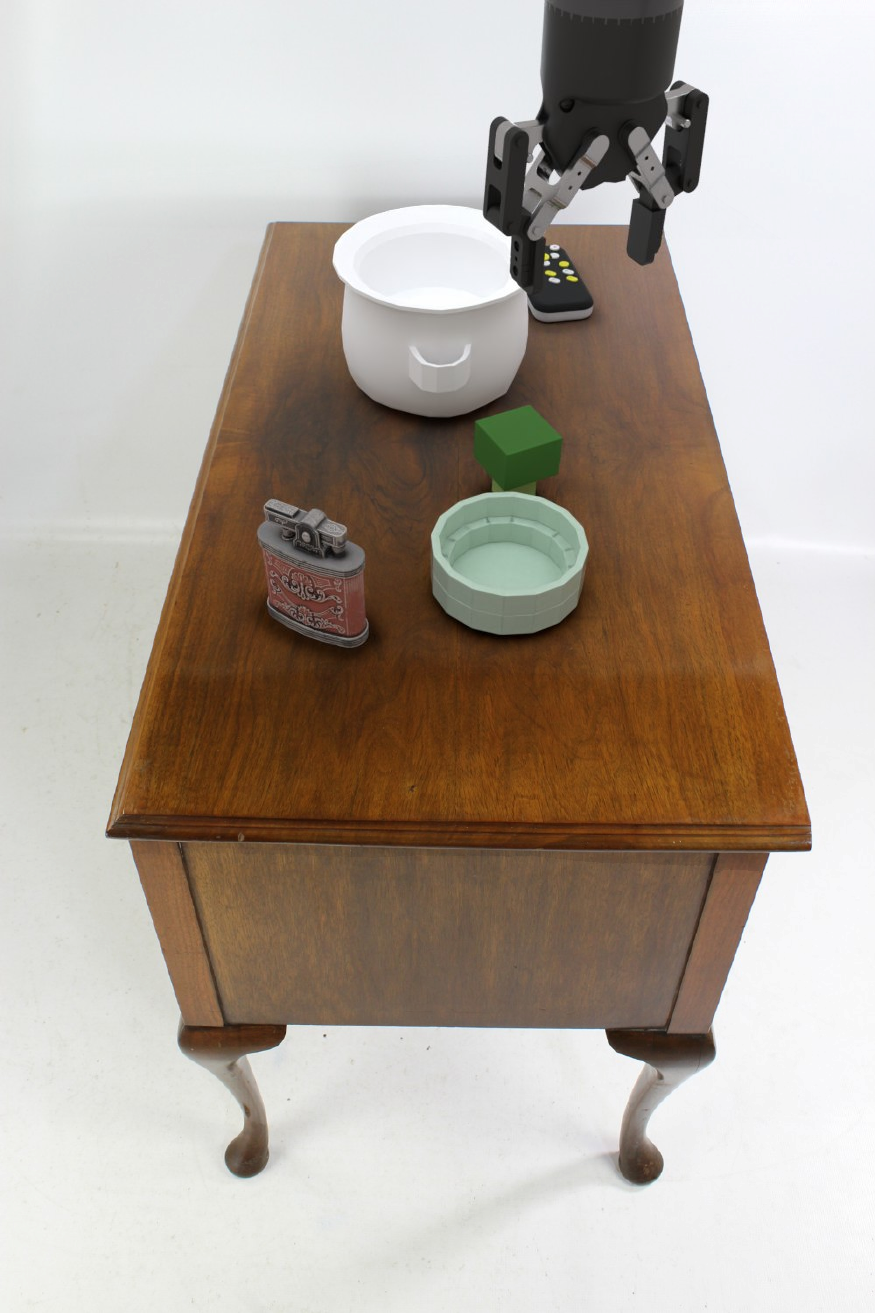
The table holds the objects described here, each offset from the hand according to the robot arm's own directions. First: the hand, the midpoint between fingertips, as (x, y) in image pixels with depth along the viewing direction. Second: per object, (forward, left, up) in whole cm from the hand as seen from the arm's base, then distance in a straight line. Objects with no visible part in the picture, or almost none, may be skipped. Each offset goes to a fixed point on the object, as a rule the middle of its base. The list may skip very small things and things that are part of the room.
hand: (585, 274), depth 69 cm
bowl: (+7, +4, -21) cm, 23 cm away
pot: (-1, -23, -21) cm, 31 cm away
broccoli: (+1, -5, -21) cm, 22 cm away
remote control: (-19, -32, -21) cm, 43 cm away
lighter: (+21, +1, -21) cm, 30 cm away
